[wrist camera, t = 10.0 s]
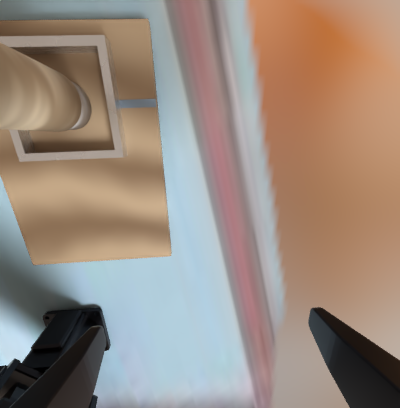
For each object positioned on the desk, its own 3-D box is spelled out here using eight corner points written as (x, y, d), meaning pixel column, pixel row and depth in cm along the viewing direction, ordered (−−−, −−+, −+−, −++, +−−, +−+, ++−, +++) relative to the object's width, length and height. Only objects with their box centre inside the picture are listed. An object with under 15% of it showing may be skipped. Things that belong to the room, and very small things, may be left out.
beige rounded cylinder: (98, 131, 16) (22, 126, 9) (49, 133, 16) (-71, 129, 9) (88, 76, 15) (-11, 15, 8) (34, 77, 15) (-121, 16, 7)
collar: (127, 155, 17) (123, 157, 16) (30, 160, 17) (19, 161, 16) (110, 42, 15) (104, 35, 14) (-5, 44, 14) (-22, 36, 13)
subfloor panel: (171, 251, 22) (170, 256, 21) (38, 260, 21) (32, 265, 20) (149, 24, 15) (147, 18, 14) (-43, 27, 14) (-57, 20, 14)
